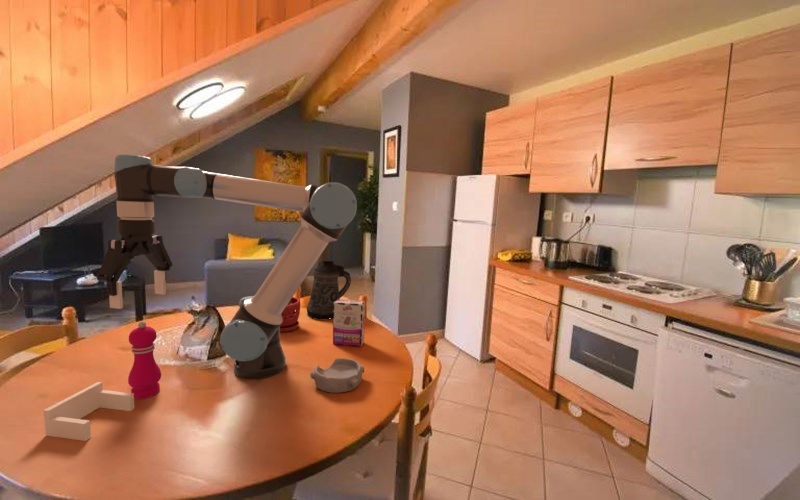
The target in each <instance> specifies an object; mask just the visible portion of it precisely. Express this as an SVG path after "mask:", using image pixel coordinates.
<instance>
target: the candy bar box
mask: <svg viewBox="0 0 800 500" xmlns="http://www.w3.org/2000/svg"><path fill="white" fill-rule="evenodd" d="M365 310H366V301H363V300H353V299H350V300H349V299H340V300H336V301H335V302H334V305H333V319H332V321H333V322H332V323H333V324H332V345H334V346H335V345H336V346H337V345H338V346H348V347H359V348H361V347H362V346H363V344H364V343H365V319H366V318H365V317H366V316H365V315H366V314H365V313H366V311H365Z"/></svg>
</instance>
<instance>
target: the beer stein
mask: <svg viewBox="0 0 800 500" xmlns="http://www.w3.org/2000/svg"><path fill="white" fill-rule="evenodd" d="M312 276H313V279H312V285H311V291H310V296H309V300H308V302H307V305H306V309H305V310H306V314H307V316H308V317H309V319H313V318H315V319H314V320H320V319H327V320H330V319H329V318H333V305H334V302H335V301H336V300H341V298H342V297H343V296H344V295H345V294H346V292H348V290H349V288H350V287H351V283H352V277H351V274H350V273H349V272H347V270H345V268H344V267H343V266H342V265H341V264H335V263H334V261H332V260H331V261H329V260H325V261H324V260H323V261H322V262H321V264H319V265H318V266H317V267H315V268H314V269H313V270H312ZM341 277H343V278H345V283H344V285H343V287H341V289H340V288H339V278H341Z"/></svg>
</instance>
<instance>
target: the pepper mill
mask: <svg viewBox="0 0 800 500" xmlns="http://www.w3.org/2000/svg"><path fill="white" fill-rule="evenodd" d="M137 326H138V327H137V328H134V329H133V330H131V332H130V333H129V335H128V342H129V344H130V345H132V346H131V353H133V362H132V363H133V364H132V367H131V370H130V371H129V373H128V378H127V383H128V386H130V387H131V389H130V393H134V400H143V399H144V400H145V399H149V398H151V397H154V396H155V395H157V394H158V393H159V391H160V389H161V388H160V383H159V381H161V378H162V371H161V369H160V366H159V365H158V363H157V362H156V361H155V360H156V359H155V357H154V350H155V348H156V343H155V341H156V340H157V335H158V334H157V332H156V329H154V328H153V327H151V326H147V323H146V322H145V321H139V322H138V323H137Z"/></svg>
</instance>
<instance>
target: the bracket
mask: <svg viewBox="0 0 800 500" xmlns="http://www.w3.org/2000/svg"><path fill="white" fill-rule="evenodd" d="M103 388H104V387H103V382H102V381H97V382H94V383H93V384H91V385H90V386H87V387H86V388H84V389H82V390H80V391H77V392H76V393H74V394H72V395H70V396H68V397H66V398H65V399H64V398H63V399H62V400H59V402H56V403H54V404H53V405H50V406H48V407H47V408H45V409H43V418H44V419H43V420H44V430H45V436H46V437H53V438H61V439H68V440H75V441H83V442H86V441H88V440H90V439H91V438H92V433H91V421H90V420H88V419H83V418H84V417H86V416H87V415H89V414H91V413H92V412H95V410H98V409H100V408H101V409H102V408H103V409H110V410H111V409H112V410H116V411H117V410H118V411H124V412H131V411H133V410H134V409H135V399H134V393H131V392H123V391H115V390H107V389H103Z"/></svg>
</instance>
